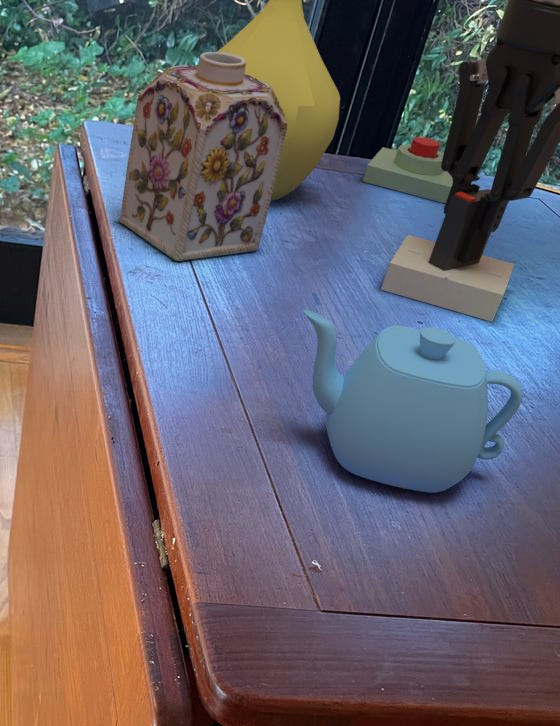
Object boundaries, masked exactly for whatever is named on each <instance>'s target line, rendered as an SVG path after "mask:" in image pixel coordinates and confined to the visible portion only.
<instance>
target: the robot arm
mask: <svg viewBox="0 0 560 726" xmlns="http://www.w3.org/2000/svg"><path fill="white" fill-rule="evenodd" d="M496 35H497V41H496V42H495V44H494V46H493V47H492V48H491V49H490V51H489V52H488V53H487V55H486V57H485V58H481V59H478V60H468V61H467V60H466V61H463V62H462V63H461V64H460V65H459V68H458V83H459V84H458V85H459V86H458V87H459V89H458V94H457V97H456V101H455V105H454V110H453V113H452V117H451V122H450V126H449V130H448V135H447V139H446V143H445V147H444V151H443V153H444V155H443V159H442V163H441V168H442V170H443V171H447V172H448V173H449V174H450V175H451V177H452V180H453V184H452V187H451V190H450V193H449V195H448V199H447V201H446V204H445V203H444V207H443V214H444V215H446V212H447V209H448V206H449V204H450V201H451V198H452V195H455V194H456V193H457V192H464V193H468V192H474V191H480V188H481V186H480V185H478V184H476V183H473V182H478V181H479V180H480V179H481V176H479V173H480V171H481V169H482V166H483V165H484V162H485V161H486V158H487V156H488V154H489V153H490V151H491V148H492V146H493V144H494V142H495V139H496V138H497V135H498V133H499V132H500V129H501V127H502V125H503V124H504V121H505V118H506V117H507V116H508V118H507V124H508V128H507V131H506V136H505V139H504V141H503V142H504V143H503V147H502V149H501V153H500V155H499V160H498V162H497V163H498V164H497V167H496V171H495V174H494V178H493V180H492V184H491V188H490V190H491V191H490V193H487V194H485V196H483V197H481V198H480V201H479V204H478V206H477V209H476V212H475V214H474V217H473V219H472V222H471V225H470V227H469V230H468V233H467V235H466V238H465V240H464V243H463V246H462V248H461V251H460V254H459V256H458V259H457V260H458V261H460V262H462V263H465V262H469V261H474V260H478V259H479V257H480V254H481V251H482V249H483V246H484V244H485V241H486V239H487V236H488V234H489V233H495V232H496V231H497V230H498V229H499V226H500V224H501V222H502V220H503V219H502V218H503V217H504V214H505V211H506V209H507V207H508V205H509V203H510V202H511V201H517V200H524V199H529V198H530V197H531V196H532V194H533V192H534V190H535V189H536V187H537V185H538V184H539V181H540V179H541V178H542V176H543V174H544V173H545V170H546V168H547V167H548V165H549V163H550V161H551V159H552V157H553V155H554V154H555V152H556V150H557V148H558V146H559V145H560V0H508V1H507V4H506V6H505V9H504V12H503V15H502V18H501V20H500V23H499V26H498V29H497V34H496ZM486 82H487V83H488V91H487V94H486V96H485V98H484V100H483V96H484V93H485V86H486V85H485V83H486ZM552 99H554V100H553V102H552V103H551V105H550V106H549V111H550V113H549V114H548V115H547V116H546V118H545V119H544V121H543V123H542V125H541V126H540V128H539V129H538V130H539V131H538V132H537V134H536V136H535V138H534V140H533V141H532V137H533V133H534V130H535V127H536V125H537V124H538V123H539V122H540V120H541V116H542V113H543V110H544V106H545V105H547V104H548V103H549V102H550V101H551V100H552ZM482 100H483V103H482ZM479 111H480V112H481V114H480V115H479ZM531 141H532V144H531ZM530 144H531V146H530ZM529 146H530V148H529Z"/></svg>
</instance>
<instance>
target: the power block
mask: <svg viewBox="0 0 560 726" xmlns="http://www.w3.org/2000/svg"><path fill="white" fill-rule="evenodd" d="M411 144H412V143H408V144H400V146H399V147H398V148H397V149H396V150H395V149H393V148H387V147H381V149H380V150H379V151H378V152H377V153H376V154H375V156H373V158H372V159H371V160H370V161H369V163H367V165H366V168H365V171H364V175H363V178H362V183H366V184H369V185H374V186H377V187H381V188H385V189H388V190H392V191H396V192H400V193H404V194H408V195H411V196H415V197H418V198H423V199H427V200H430V201H434V202H438V203H441V204H444V205H445V204H446V201H447V199H448V195H449V193H450V190H451V187H452V184H453V180H452V177H451V175H450V174H449V173H448V172H447V171H443V170H442V168H441V163H442V159H443V155H444V152H443V151H440V150H438V152H437V155H436V158H424V157H421V156H417V155H414V154H412V153H410V152H409V150H410V147H411Z"/></svg>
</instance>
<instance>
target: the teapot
mask: <svg viewBox="0 0 560 726" xmlns="http://www.w3.org/2000/svg"><path fill="white" fill-rule="evenodd" d="M302 311H303V314H304V315H305V316H306V318H307V319H308V320H309V322H310V323H311V325H312V326H313V328H314V331H315V333H316V339H317V346H316V355H315V360H314V365H313V373H312V391H313V395H314V397H315V399H316V401H317V403H318V405H319V407H320V408H321V409H322V410H323V411H324V413H325V414H326V418H325V419H326V420H325V427H326V433H327V437H328V440H329V444H330V447H331V450H332V452H333V455H334V457H335V459H336V461H337V462H338V464H339V465H340V466H341V467H342V468H343V469H345V470H346V471H348V472H350V473H351V474H354V475H356V476H358V477H361V478H363V479H366V480H370V481H374V482H376V483H379V484H384V485H388V486H390V487H391V486H392V487H396V488H400V489H405V490H406V489H407V490H411V491H416V492H424V493H441V492H444V491H447V490H448V489H450V488H452V487H453V486H455V485H457V484H458V483H460V482H461V481H463V479H465V478H466V476H467V475H468V474H469V473H470V472H471V470H472V469H473V468H474V465H475V464H476V461H477V459H480V460H486V461H488V460H493V459H496V458H497V457H499V456H500V455H501V453H503V452H502V451H503V450H504V447H505V440H504V438H503V437H502V435H500V434H499V433H498V432H499V431H500V430H501V429H502V428H503V427H504V426H505V425H506V424H508V422H509V421H510V420H511V419H512V418H513V417H514V415H515V414H516V413H517V412H518V410H519V408H520V406H521V404H522V401H523V390H522V387H521V385H520V383H519V382H518V380H517V379H516V378H515V377H513V375H511V374H510V373H508V372H506V371H502V370H495V369H494V370H491V369H490V370H487V368H486V367H487V366H486V364H485V360H484V359H483V357H482V354H481V353H480V352H479V350H478V349H477V348H476V347H475V345H473V344H472V343H470V342H468V341H467V340H464V339H461V338H459V337H456V336H455V335H454V334H453V333H451V332H450V331H448V330H446V329H442V328H439V327H424V328H416V327H411V326H406V325H405V326H404V325H390V326H388V327H385V328H383V329H382V330H381V331H380V332H379V333H378V334H377V335H376V336H374V338H373V339H372V340H371V341H370V343H369V344H368V345H367V346H366V347H365V348H364V349H363V351H362V352H361V353H359V355H358V356H357V357H356V359H354V361H353V362H352V364H351V365H350V366H349V368H348V369H347V371H346V372H345V374H344V375H342V373H340V372H339V370H338V368H337V366H336V362H335V361H336V360H335V357H336V350H337V343H338V342H337V341H338V340H337V339H338V337H337V331H336V329H335V326H334V324H332V322H331V321H330V320H328V319H327V318H326V317H325V316H323V315H321V314H319V313H317V312H314V311H312V310H309V309H303V310H302ZM488 385H497V386H498V385H499V386H502V387H504V388H506V389H508V390H509V391H510V395H509V398H508V400H507V401H506V403H505V404H504V406H503V407H501V409H500V410H499V412H497V413H496V415H495V416H493V418H491V419H490V421H489V422H487V421H488V413H489V410H488V408H489V400H488V399H489V397H488V396H489V394H488V393H489V391H488ZM488 442H491V443H494V445H492V446H488V447H487V446H486V444H487V443H488Z"/></svg>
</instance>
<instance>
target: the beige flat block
mask: <svg viewBox="0 0 560 726" xmlns="http://www.w3.org/2000/svg"><path fill="white" fill-rule="evenodd" d="M435 242H436V241H432V240H429V239H425V238H422V237H418V236H414V235H411V234H407V235H406V237H405V238H404V239H403V241H402V243H401V244H400V246H399V248H398V249H397V251H396V252H395V254H394V256H393V257H392V259H391V260H390V262H389V265H388V267H387V270H386V273H385V276H384V279H383V282H382V285H381V288H380V291H384V292H387V293H391V294H394V295H398V296H401V297H405V298H408V299H411V300H415V301H418V302H422V303H425V304H429V305H432V306H435V307H439V308H442V309H446V310H448V311H449V310H450V311H453V312H456V313H459V314H463V315H467V316H469V317H473V318H477V319H481V320H482V321H483V320H484V321H486V322H490V323H493V321H494V320H495V317H496V315H497V312H498V310H499V307H500V305H501V302H502V300H503V298H504V295H505V293H506V290H507V287H508V284H509V281H510V279H511V276H512V273H513V271H514V267H515V265H516V264H515V263H514V262H513V263H512V262H510V261H505V260H502V259H498V258H495V257H490V256H487V255H483V254H482V256H481V259H480V261H479V263H476V264H471V265H467V266H462V267H458V268H453V269H449V270H442V269H440V268H438V267H436V266H434V265H432V264H431V263H429V259H430V256H431V254H432V251H433V248H434V245H435Z"/></svg>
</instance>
